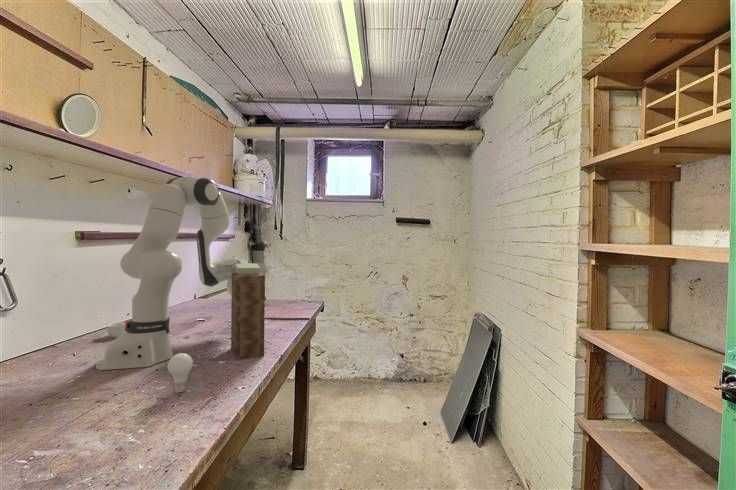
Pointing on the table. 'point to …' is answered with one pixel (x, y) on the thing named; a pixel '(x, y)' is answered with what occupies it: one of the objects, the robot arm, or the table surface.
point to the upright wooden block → (247, 315)
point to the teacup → (116, 329)
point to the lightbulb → (180, 370)
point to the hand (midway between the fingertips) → (243, 262)
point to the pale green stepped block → (246, 268)
